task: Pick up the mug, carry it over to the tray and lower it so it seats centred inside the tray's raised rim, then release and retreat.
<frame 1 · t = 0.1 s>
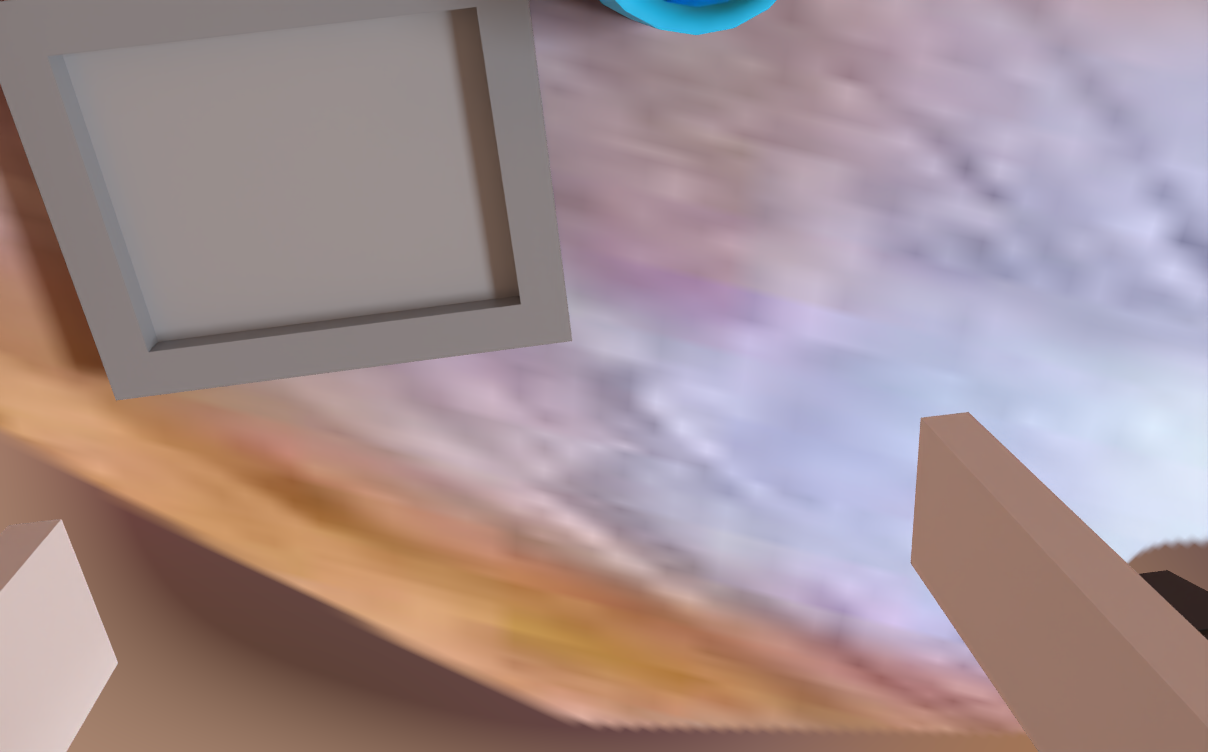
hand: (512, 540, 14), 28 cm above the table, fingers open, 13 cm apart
tray: (316, 176, 39), on the table
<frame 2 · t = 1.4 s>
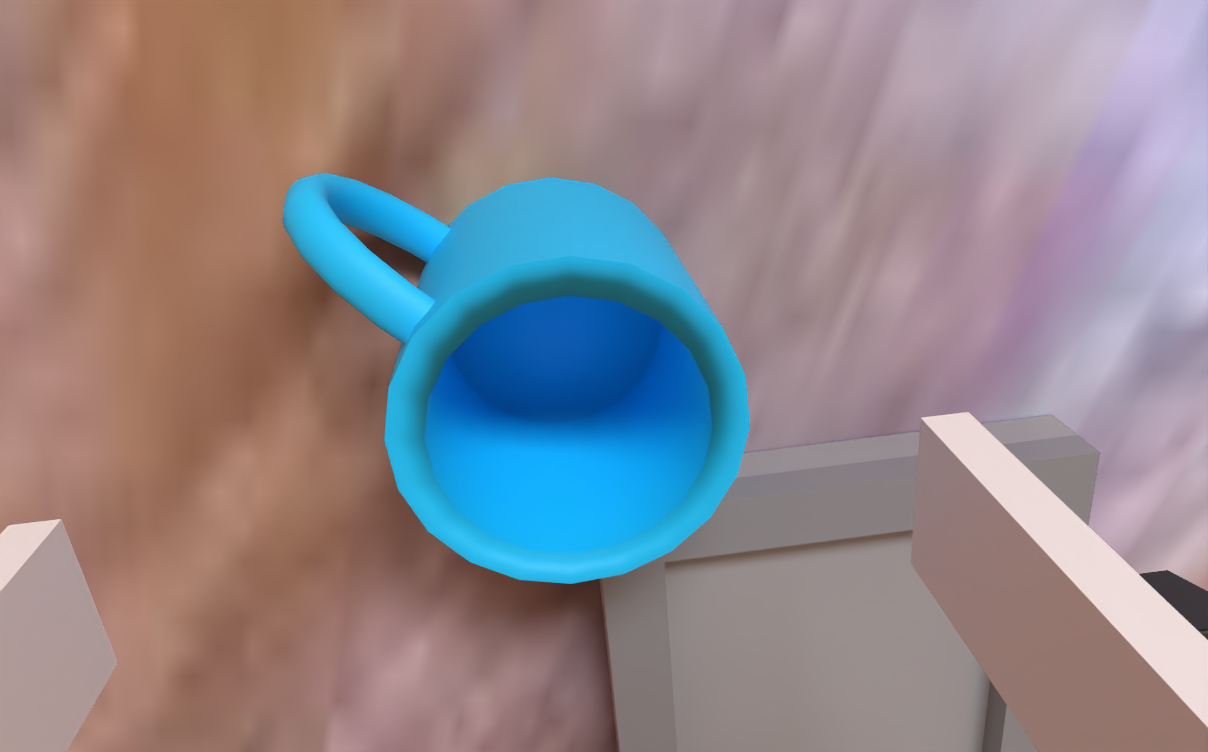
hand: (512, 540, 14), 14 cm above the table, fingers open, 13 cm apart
mug: (500, 274, 27), on the table
tray: (819, 673, 34), on the table
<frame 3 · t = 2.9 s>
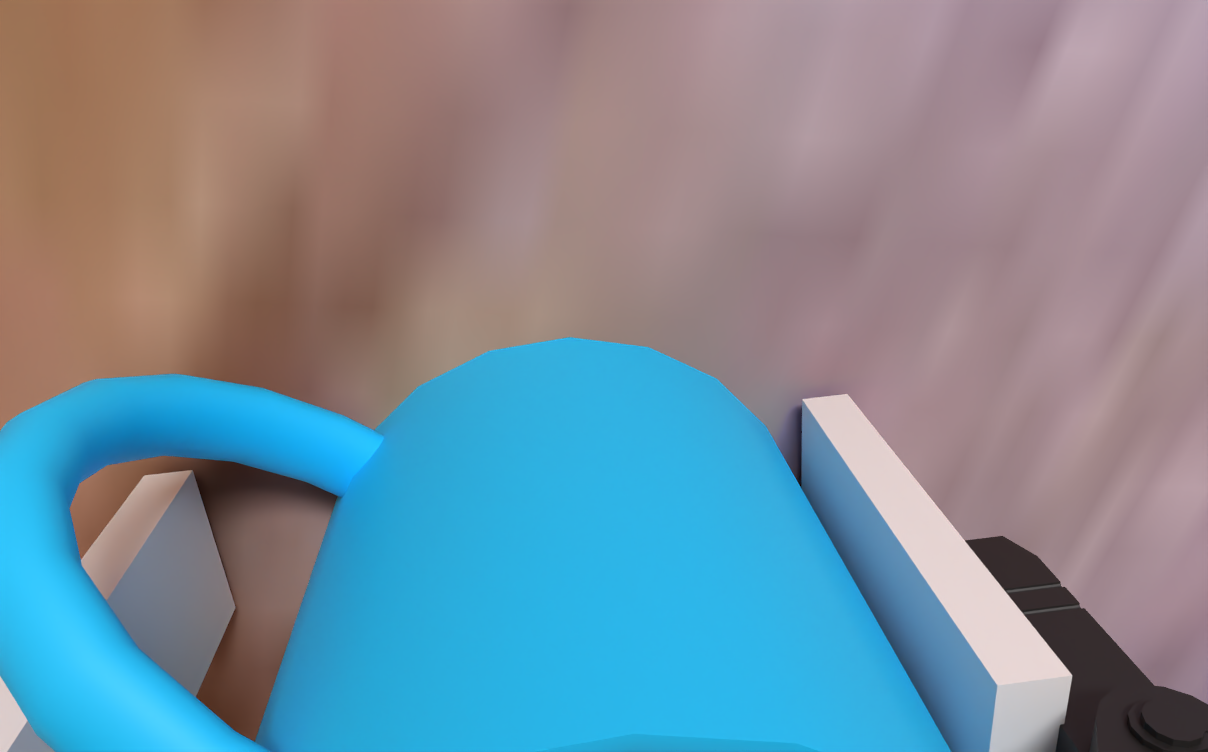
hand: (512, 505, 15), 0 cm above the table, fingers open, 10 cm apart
mug: (478, 495, 15), on the table, touching gripper
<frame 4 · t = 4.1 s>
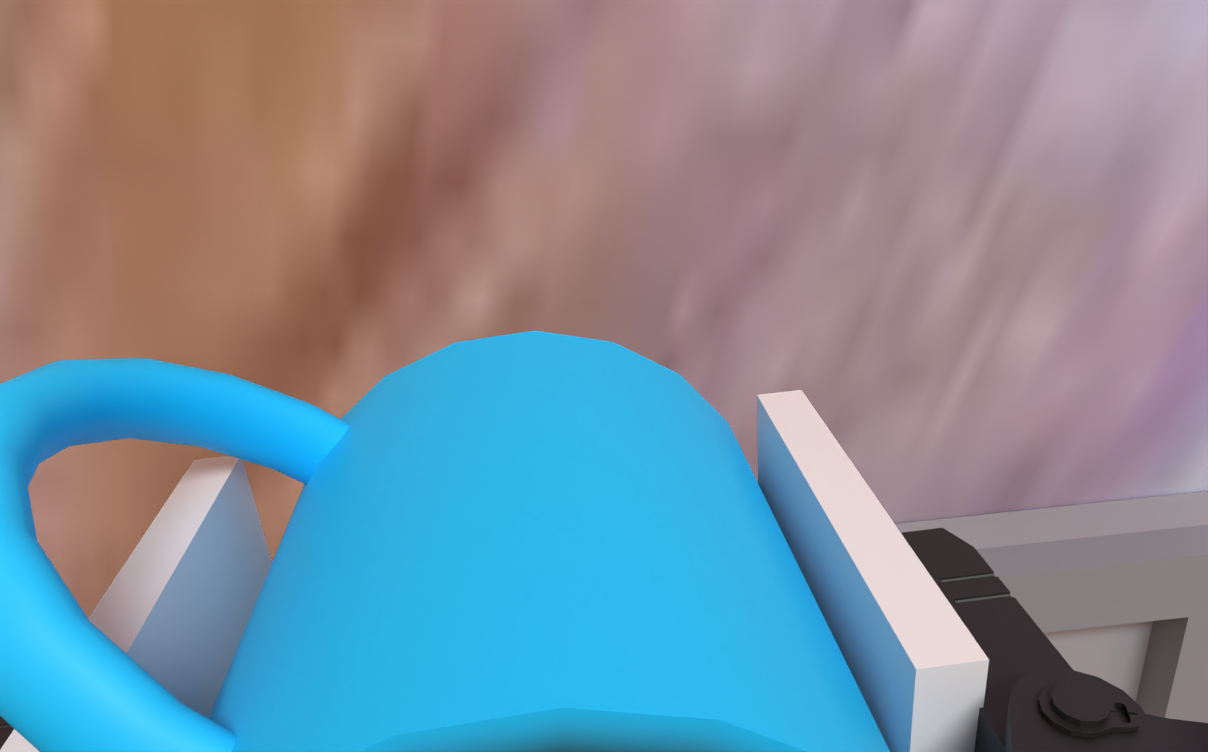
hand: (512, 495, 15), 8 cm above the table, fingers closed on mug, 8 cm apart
mug: (444, 485, 16), point 7 cm above the table, touching gripper
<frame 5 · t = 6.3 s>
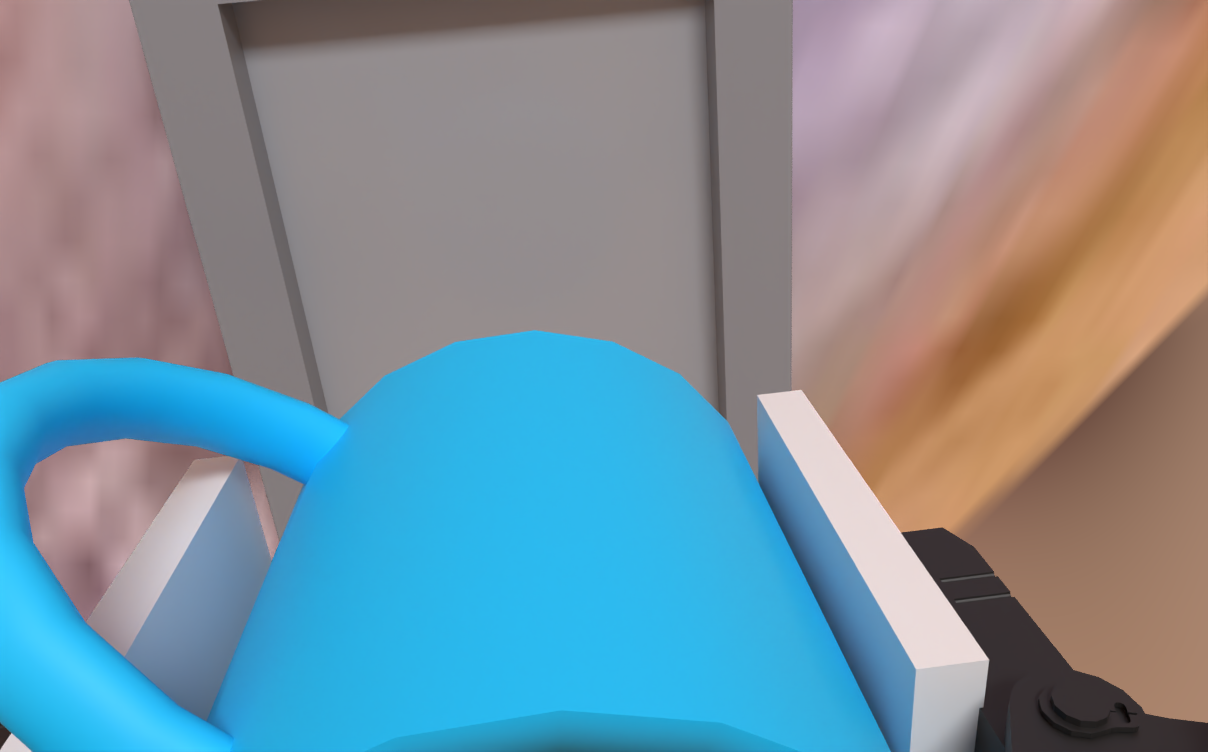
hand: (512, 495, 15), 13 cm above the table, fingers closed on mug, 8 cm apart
mug: (443, 486, 15), point 13 cm above the table, touching gripper
tray: (510, 265, 27), on the table
when the fingers open (3 cm above the table, at t = 8.5 s): mug drops 1 cm, resting on tray.
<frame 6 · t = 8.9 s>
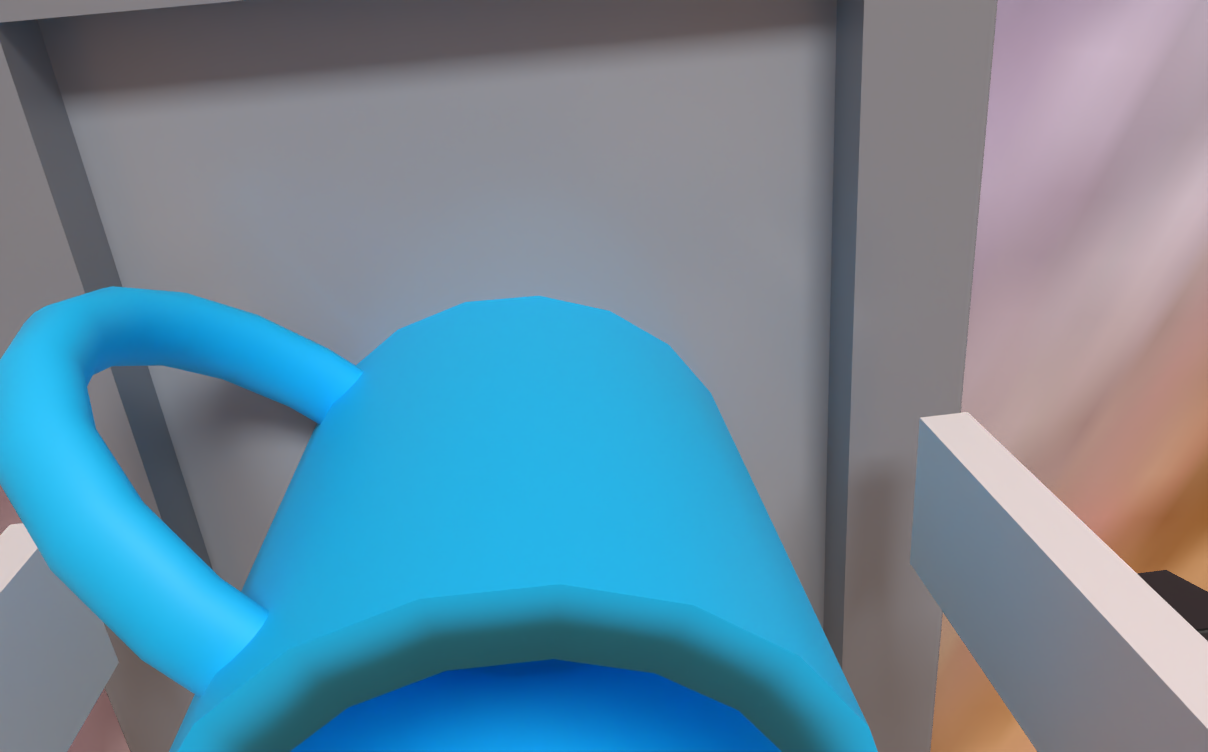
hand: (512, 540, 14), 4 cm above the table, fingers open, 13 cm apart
mug: (444, 437, 17), point 1 cm above the table, touching tray
tray: (513, 413, 18), on the table
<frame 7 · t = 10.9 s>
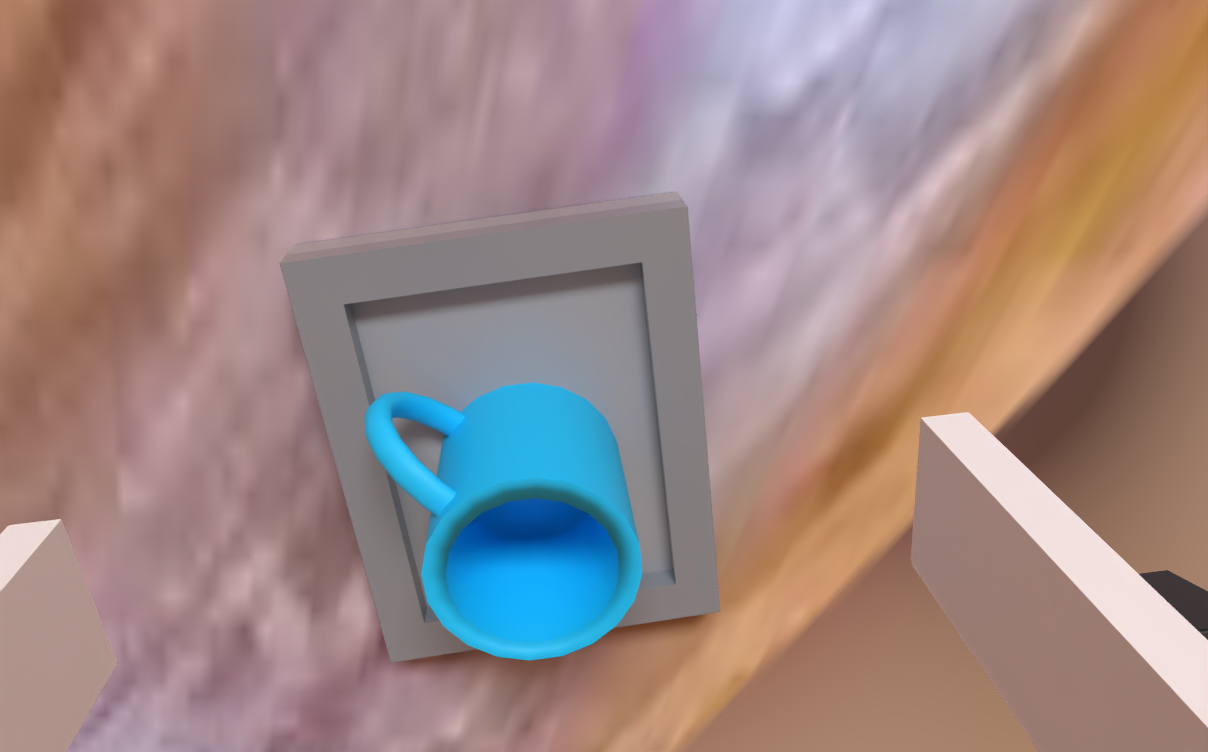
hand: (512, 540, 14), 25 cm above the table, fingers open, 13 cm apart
mug: (496, 440, 40), point 1 cm above the table, touching tray
tray: (524, 428, 41), on the table
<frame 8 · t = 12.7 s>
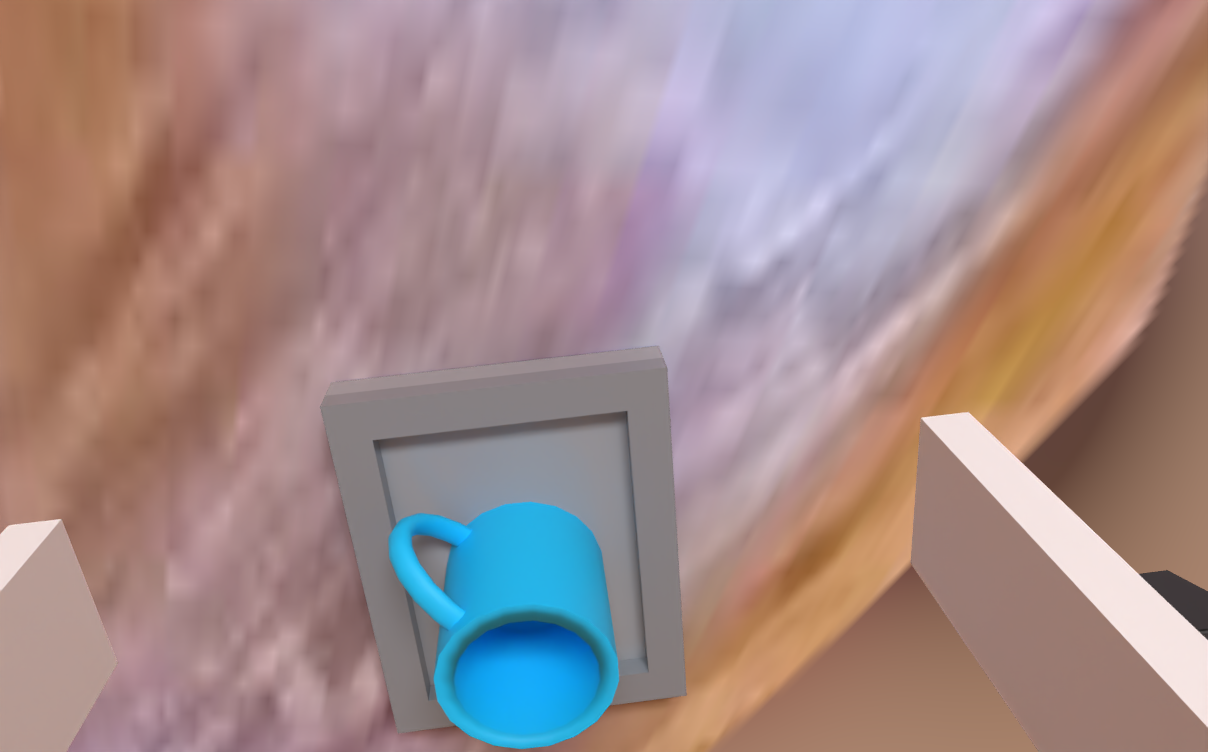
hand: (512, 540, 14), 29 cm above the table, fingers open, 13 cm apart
mug: (496, 547, 46), point 1 cm above the table, touching tray
tray: (521, 535, 48), on the table
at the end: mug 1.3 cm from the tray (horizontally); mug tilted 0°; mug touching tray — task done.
